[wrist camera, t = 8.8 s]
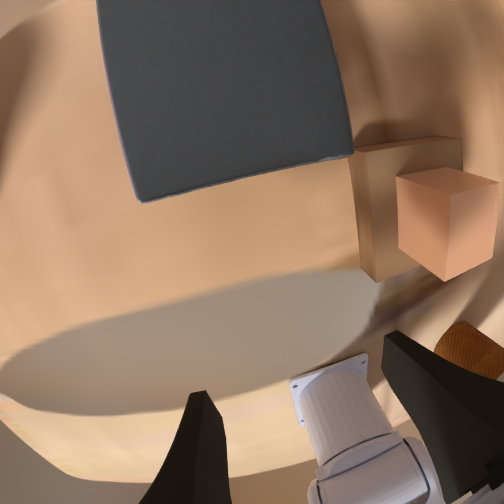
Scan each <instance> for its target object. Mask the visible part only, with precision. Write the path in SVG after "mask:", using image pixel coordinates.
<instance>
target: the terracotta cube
mask: <svg viewBox="0 0 504 504" xmlns="http://www.w3.org/2000/svg"><path fill="white" fill-rule="evenodd" d="M395 178H396V191H397V208H398V248H399V249H400V250H402V251H403V252H405V253H406V254H407V255H409V256H410V257H412V258H413V259H414V260H416V261H417V262H419V263H420V264H421V265H423V266H424V267H425V268H427V269H428V270H429V271H431V272H432V273H433V274H435V275H436V276H437V277H439V278H440V279H441V280H442V281H444V282H445V281H447V280H449V279H451V278H453V277H455V276H457V275H459V274H461V273H464V272H466V271H468V270H469V269H471V268H473V267H475V266H477V265H479V264H481V263H483V262H485V261H487V260H489V259H491V258H492V255H493V249H494V242H495V234H496V225H497V215H498V200H499V182H496V181H493V180H490V179H487V178H484V177H481V176H477V175H474V174H471V173H467V172H464V171H460V170H457V169H453V168H449V167H443V168H438V169H432V170H426V171H421V172H415V173H410V174H405V175H400V176H395Z"/></svg>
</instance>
